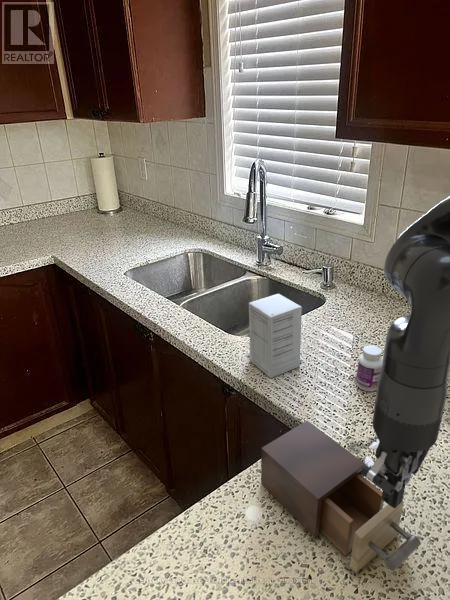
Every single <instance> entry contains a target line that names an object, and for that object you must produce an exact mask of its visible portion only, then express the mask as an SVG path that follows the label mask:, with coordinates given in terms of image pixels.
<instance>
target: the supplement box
mask: <svg viewBox="0 0 450 600" xmlns="http://www.w3.org/2000/svg"><path fill="white" fill-rule="evenodd" d="M302 311H303V307H302V306H301V305H300V304H297V302H294V301H292V300H290V299H289V298H287V297H286V296H284V295H282V294H280V293H275V294H272V295H269V296H266V297H263V298H259V299H257V300H253V301H250V302H248V323H249V324H248V325H249V326H248V327H249V362H251V363H252V364H253V365H254V366H256V367H257V368H258V369H259V370H260V371H261V372H263V373H264V374H265V375H266V376H268V377H269V378H270V379H273V378H275V377H277V376H279V375H283V374H285V373H288V372H289V371H291V370H294V369H298V368H300V366H301V343H302V315H303V314H302V313H303V312H302Z"/></svg>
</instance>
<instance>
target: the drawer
mask: <svg viewBox="0 0 450 600" xmlns="http://www.w3.org/2000/svg"><path fill="white" fill-rule="evenodd" d="M382 493H383V490H382V489H380V488H379V487H378V486H377V485H375V484H374V483H373V482H371V481H370V480H369V479H367V478H366V477H365V476H364V477H363V476H361V475H360V474H359V473H358V474H356V475H355V476H354V477H352V478H351V479H350V480H348V481H347V482H346V483H344V484H343V485H342V486H340V487H339V488H338V489H336V490H335V491H334V492H332V493H331V494H330V495H328V496H327V497H326V498H324V499H323V500H322V504H321V515H320V527H319V533H321V534H322V535H323V536H324V537H325V538H326V539H327V540H328V541H329V542H330V543H332V544H333V546H335V547H336V549H337V550H338V551H340V552H341V553H342V554H343V555H344V556H345V557H346V556H347V555H348V554H349V553H351V555H350V561H349V562H350V563H349V569H350V570H352V571H353V572H354V573H355V574H357V573H358V572H360V571H361V569H363V568H364V567H365V566H366V565H367V564H368V563H370V562H371V560H372V559H374V558H375V557H376V556H377V555H378V556H379V557H380V558H381V559H382V560H383V561H384V564H385V565H386V568H387V569H389V570H390V571H392V572H395V571H396V570H397V569H398V568H399V567H400V566H401V565H402V564H403V563H404V562H405V561H406V560H407V559H408V558H409V557H410V556H411V555H412V554H413V553H414V552H415V551H416V550H417V549H418V548H420V546H421V544H422V542H421V540H420V538H419V537H417V535H415V534H412V535H410V534H409V533H408V532H406V531H405V530H404V529H403V528H402V527H401V526H400V523H401V517H402V513H403V508H404V503H405V501H404V500H403V501H402V503H401V504H399V505H398V506H397V507H396V508H393V507H391V506H390V505H388V504H386V505H385V506H384V503H385V502H384V501H383V500H382ZM398 535H400V536H401V537H402V538H404V539H405V541H404V542H403V543H402V544H401V545H400V546H399V547H398V548H396V550H394V552H392V553H391V554H390V555H388V554H387V553H386V552H385V551H383V549H385V548H386V546H388V545H389V544H390V543H391V542H392V541H393V540H394V539H395V538H397V536H398Z"/></svg>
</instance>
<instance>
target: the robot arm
mask: <svg viewBox="0 0 450 600" xmlns="http://www.w3.org/2000/svg"><path fill="white" fill-rule="evenodd" d="M383 266H384V267H383V273H384V277H385V280H386V281H387V283H388V284H389V285H390V286H391V287H392V288H393V289H394V290H395V292H398V294H399V295H400V296H402V297H403V298H404V299H405V300H406V301H407V302H408V303H409V304H410V314H409V315H408V314H407V315H403V316H400V317H398V318H396V319H395V320H393V321H392V322H391V324H390V325H389V327H388V329H387V332H386V335H385V342H384V349H383V350H384V351H383V355H382V356H383V357H382V359H383V363H382V368H381V372H380V375H379V378H378V384H377V390H376V391H375V392H376V393H375V399H374V408H373V415H372V428H373V430H374V432H375V433H374V434H375V435H376V437H377V439H379V445H378V447H377V449H375V459H376V460H375V462H374V465H373V466H372V465H371V466H370V467H368V465H365V467H364V468H363V469H362V471H361V474H362V475H364V478H365V479H367V480H368V481H369V482H370V483H372V484H373V485H374V486H376V487H377V488H378V489H379V490H381V491H382V492H383V493H382V500H383V501H384V503H385V504H386V505H390V506H391V507H393V508H396V507H397V506H398V505H399V504H401V503H402V501H404V495H405V490H406V485H408V484H409V483H410V481H411V477H412V474H413V475H416V474H417V473H418V472H419V469H420V468H421V466H422V464H423V462H424V460H425V458H426V457H427V455H428V453H429V451H430V449H431V448H432V447H433V446H434V445H435V444H436V442H437V440H438V438H439V433H440V427H441V424H442V419H443V414H444V409H445V406H446V401H447V395H448V380H449V375H450V195H449V196H447V197H446V198H445V199H443V200H441V201H440V202H439V203H437V204H436V205H435V206H434V207H432V208H431V209H430V210H428V212H426V213H425V214H423V215H422V216H421V217H420V218H418V219H417V220H416V221H414V222H413V223H412V224H410V226H409V227H407V228H406V229H404V230H403V232H402V233H400V235H399V236H398V237H397V238H396V239H395V241H394V242H393V243H392V244H391V247H390V249H389V250H388V252H387V254H386V257H385V259H384V265H383Z"/></svg>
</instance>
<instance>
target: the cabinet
mask: <svg viewBox="0 0 450 600" xmlns="http://www.w3.org/2000/svg"><path fill="white" fill-rule="evenodd" d="M260 451H261V452H260V464H261V465H260V485H261V486H262V487H263V488H264V490H266V491H267V492H268V493H269V494H270V495H271V496H272V497H273V498H274V499H275V500H276V501H277V502H278V503H279V504H280V505H281V506H282V507H283V508H284V509H285V510H286V511H287V512H288V513H289V514H290V515H291V516H292V517H293V518H294V519H295V520H296V521H297V522H298V523H299V524H300V525H301V526H302V527H303V528H304V529H305V530H306V531H307V532H308V533H309V534H310V535H311V536H312V537H313V538H317V537H318V536H319V535H320V531H319V527H320V515H321V504H322V500H323V499H324V498H326V497H327V496H328V495H330V494H331V493H332V492H334V491H335V490H336V489H338V488H339V487H340V486H342V485H343V484H344V483H346V482H347V481H348V480H350V479H351V478H352V477H354V476H355V475H356V474H358V473H359V474H360V475H361V476H363V477H364V478H365V476H364V475H362V474H361V471H362V469H363V468H364V467H365V466H367V464H365V461H362V460H361V459H360V458H358V457H357V456H356V455H354V454H353V453H352V452H350V451H349V450H348V449H346V448H345V447H344V446H343V445H341V444H340V443H338V442H337V441H335V440H334V439H333V438H332V437H330V436H329V435H328V434H326V433H325V432H324V431H322V430H321V429H320V428H319V427H317V426H315V425H314V424H313V423H312V422H310V421H309V420H305V421H304V422H302V423H300V424H298V425H297V426H296V427H294V428H292V429H291V430H289V431H287V432H286V433H284V434H282V435H281V436H279V437H277V438H276V439H274V440H272V441H271V442H269V443H267V444H266V445H263V446H262V447H261V448H260Z"/></svg>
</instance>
